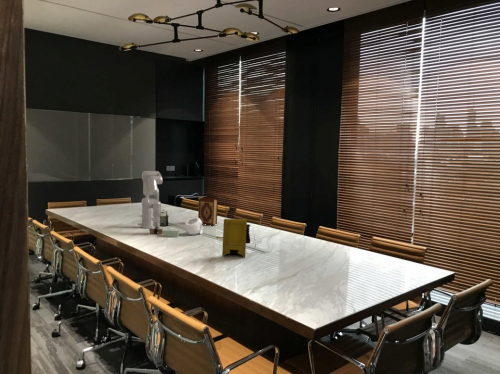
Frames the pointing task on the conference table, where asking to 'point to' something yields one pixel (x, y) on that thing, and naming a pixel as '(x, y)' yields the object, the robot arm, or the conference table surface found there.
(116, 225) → the conference table surface
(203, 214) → the decorative book
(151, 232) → the wooden staple shape
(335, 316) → the conference table surface
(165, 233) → the pale green box
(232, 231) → the olive boxy piece
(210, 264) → the conference table surface
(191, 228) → the skull planter
